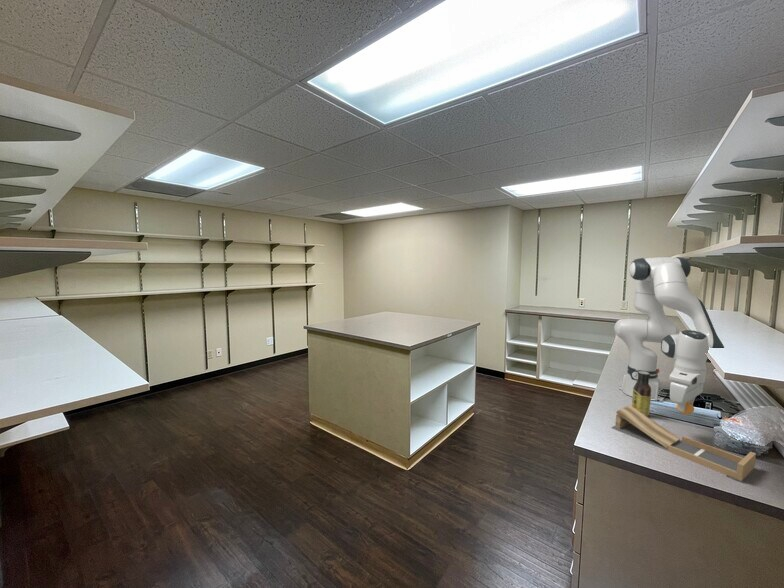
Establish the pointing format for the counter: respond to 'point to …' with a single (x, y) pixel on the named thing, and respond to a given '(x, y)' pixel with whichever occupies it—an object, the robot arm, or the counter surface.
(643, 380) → the sauce bottle
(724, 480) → the counter surface
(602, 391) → the counter surface
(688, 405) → the ball
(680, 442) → the lane
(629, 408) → the ramp
